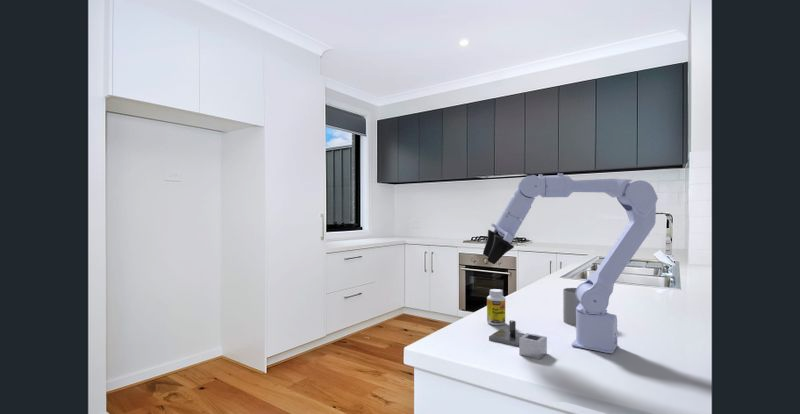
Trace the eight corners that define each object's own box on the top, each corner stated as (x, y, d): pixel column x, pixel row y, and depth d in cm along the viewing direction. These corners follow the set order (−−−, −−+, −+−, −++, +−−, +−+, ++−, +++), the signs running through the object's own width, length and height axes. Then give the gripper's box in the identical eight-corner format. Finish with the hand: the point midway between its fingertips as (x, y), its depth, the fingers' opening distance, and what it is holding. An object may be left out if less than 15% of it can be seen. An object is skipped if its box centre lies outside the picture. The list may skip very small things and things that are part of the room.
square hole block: (546, 353, 97) (546, 336, 97) (540, 359, 93) (540, 342, 93) (526, 348, 100) (526, 333, 100) (519, 354, 96) (519, 338, 96)
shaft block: (536, 339, 107) (535, 321, 107) (525, 347, 101) (525, 328, 101) (501, 332, 113) (500, 315, 113) (488, 340, 107) (488, 321, 107)
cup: (597, 326, 119) (597, 293, 119) (570, 326, 119) (570, 293, 119) (585, 318, 127) (585, 287, 127) (559, 318, 127) (559, 287, 127)
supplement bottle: (490, 326, 119) (490, 292, 120) (484, 321, 125) (484, 288, 125) (508, 325, 120) (508, 291, 120) (501, 320, 126) (501, 288, 126)
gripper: (495, 206, 115) (472, 246, 117) (505, 212, 100) (479, 258, 102) (516, 217, 115) (493, 257, 117) (530, 225, 100) (503, 271, 102)
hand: (488, 259), depth 109 cm, fingers open, 7 cm apart
